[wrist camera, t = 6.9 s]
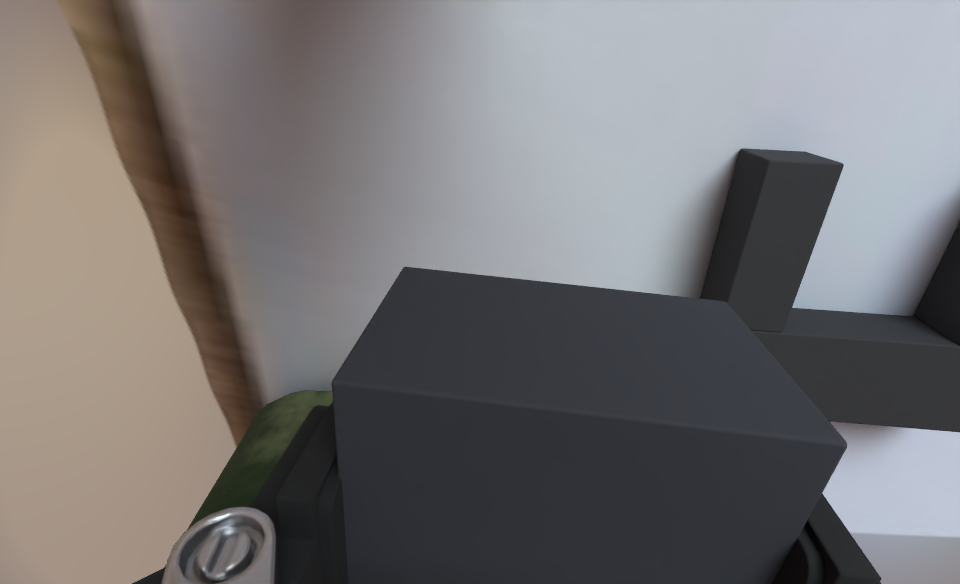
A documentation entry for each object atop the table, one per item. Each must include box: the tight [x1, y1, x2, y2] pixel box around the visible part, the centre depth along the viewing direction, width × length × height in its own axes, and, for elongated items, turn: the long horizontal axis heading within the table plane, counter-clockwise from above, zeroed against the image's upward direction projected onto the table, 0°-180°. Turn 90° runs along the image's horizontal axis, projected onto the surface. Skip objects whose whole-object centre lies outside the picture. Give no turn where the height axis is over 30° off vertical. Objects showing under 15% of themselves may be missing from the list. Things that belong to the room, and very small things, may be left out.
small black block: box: [332, 267, 847, 584], centre depth 9 cm, size 6×6×4 cm
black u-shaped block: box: [700, 149, 960, 432], centre depth 23 cm, size 13×14×3 cm
